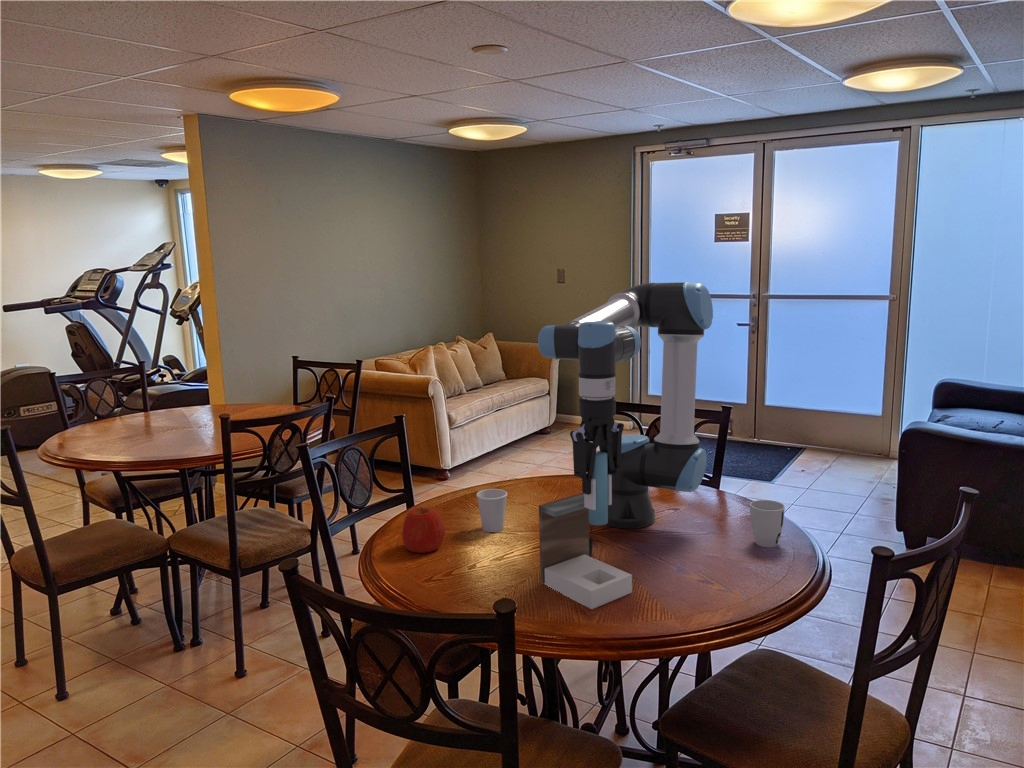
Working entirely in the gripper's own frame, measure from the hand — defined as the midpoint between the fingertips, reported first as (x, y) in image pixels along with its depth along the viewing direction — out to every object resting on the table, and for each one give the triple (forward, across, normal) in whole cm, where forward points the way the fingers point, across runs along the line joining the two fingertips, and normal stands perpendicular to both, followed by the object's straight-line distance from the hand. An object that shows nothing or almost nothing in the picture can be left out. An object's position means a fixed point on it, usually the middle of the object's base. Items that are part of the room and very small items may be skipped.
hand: (598, 505), depth 156 cm
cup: (+20, +51, -7) cm, 55 cm away
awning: (+20, +1, +10) cm, 22 cm away
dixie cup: (+20, +6, +47) cm, 52 cm away
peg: (+4, 0, 0) cm, 4 cm away
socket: (+20, 0, +4) cm, 20 cm away
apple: (+20, -15, +48) cm, 54 cm away
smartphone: (+21, +13, +21) cm, 32 cm away
